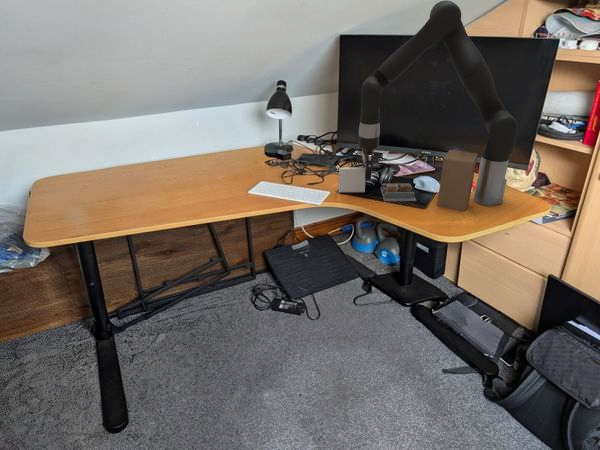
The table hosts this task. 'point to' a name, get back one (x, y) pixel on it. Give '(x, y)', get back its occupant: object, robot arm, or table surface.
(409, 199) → the charcoal rack
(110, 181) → the table surface
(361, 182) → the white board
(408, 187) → the walnut offcut
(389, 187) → the oak offcut
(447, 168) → the wooden block
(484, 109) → the robot arm
